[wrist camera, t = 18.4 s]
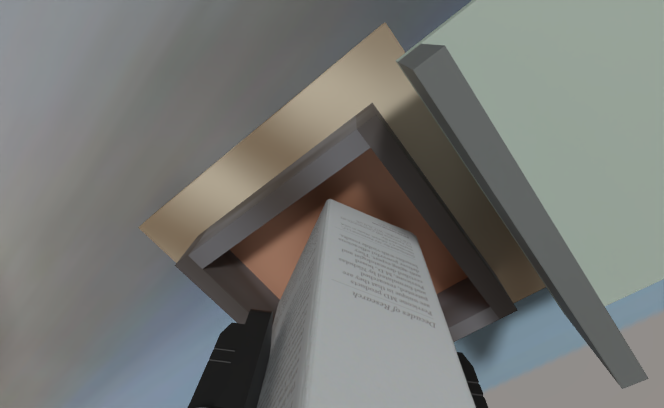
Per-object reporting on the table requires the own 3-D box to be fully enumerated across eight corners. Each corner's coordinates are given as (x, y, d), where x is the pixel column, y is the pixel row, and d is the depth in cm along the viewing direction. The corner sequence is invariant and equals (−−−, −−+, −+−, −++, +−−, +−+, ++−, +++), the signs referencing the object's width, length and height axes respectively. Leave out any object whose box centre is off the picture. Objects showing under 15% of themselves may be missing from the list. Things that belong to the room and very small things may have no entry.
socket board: (325, 377, 23) (320, 442, 19) (154, 213, 19) (105, 256, 15) (540, 264, 19) (585, 319, 15) (382, 24, 15) (392, 19, 11)
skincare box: (360, 331, 18) (372, 793, 7) (277, 300, 17) (150, 748, 6) (422, 230, 15) (590, 698, 5) (328, 191, 15) (262, 612, 4)
